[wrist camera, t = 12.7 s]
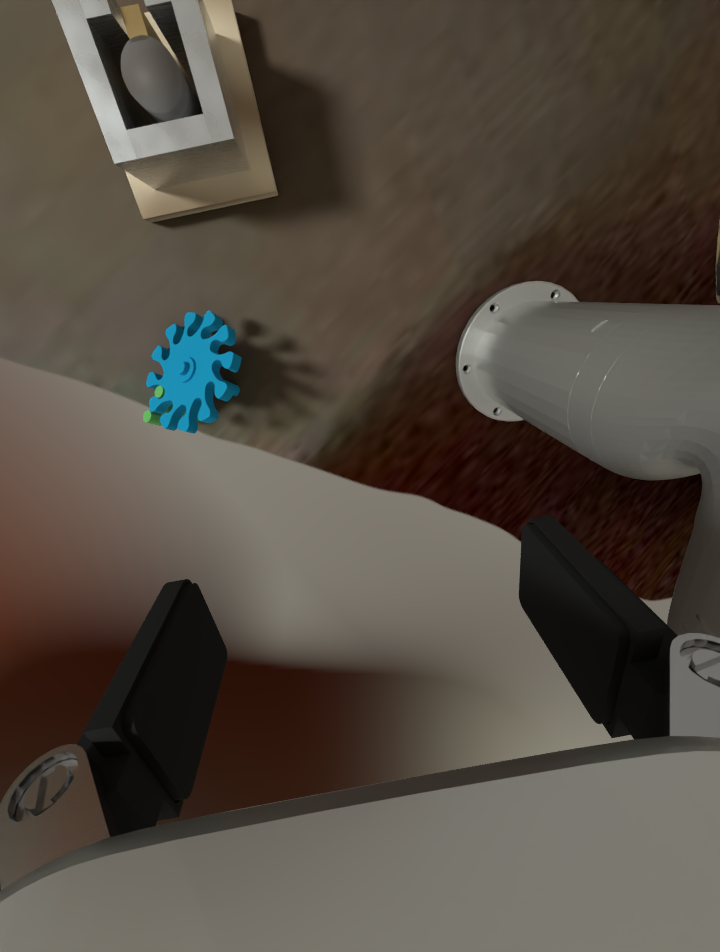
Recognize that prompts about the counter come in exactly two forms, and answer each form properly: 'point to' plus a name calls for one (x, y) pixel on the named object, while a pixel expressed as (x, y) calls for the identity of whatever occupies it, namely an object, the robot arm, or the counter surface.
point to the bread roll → (718, 267)
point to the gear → (192, 374)
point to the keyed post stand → (194, 112)
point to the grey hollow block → (126, 122)
